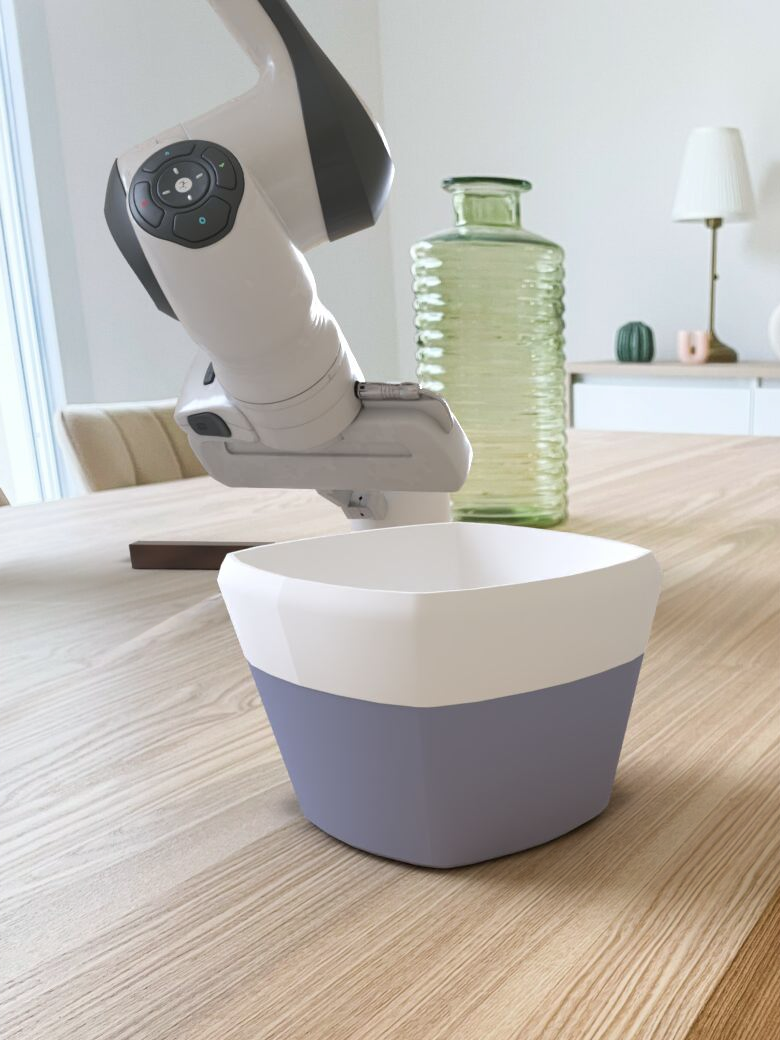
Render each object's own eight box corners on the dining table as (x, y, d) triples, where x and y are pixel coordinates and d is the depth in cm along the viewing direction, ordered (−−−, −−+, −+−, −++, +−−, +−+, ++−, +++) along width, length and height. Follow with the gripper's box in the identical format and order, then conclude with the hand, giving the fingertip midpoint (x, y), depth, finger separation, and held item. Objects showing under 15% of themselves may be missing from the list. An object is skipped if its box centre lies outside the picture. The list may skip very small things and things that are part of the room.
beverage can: (374, 586, 103) (362, 426, 98) (341, 570, 109) (328, 420, 104) (469, 577, 106) (461, 423, 102) (432, 562, 113) (423, 416, 108)
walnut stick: (131, 568, 110) (128, 544, 109) (141, 564, 112) (137, 540, 111) (271, 569, 109) (269, 545, 108) (279, 565, 111) (276, 542, 110)
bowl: (708, 809, 56) (713, 550, 52) (431, 922, 46) (409, 608, 42) (474, 738, 66) (462, 514, 62) (200, 818, 55) (162, 553, 51)
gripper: (448, 348, 88) (502, 483, 100) (178, 349, 92) (262, 477, 105) (427, 422, 86) (486, 550, 98) (151, 419, 90) (241, 542, 103)
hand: (368, 512), depth 102 cm, fingers closed, pressing on beverage can
